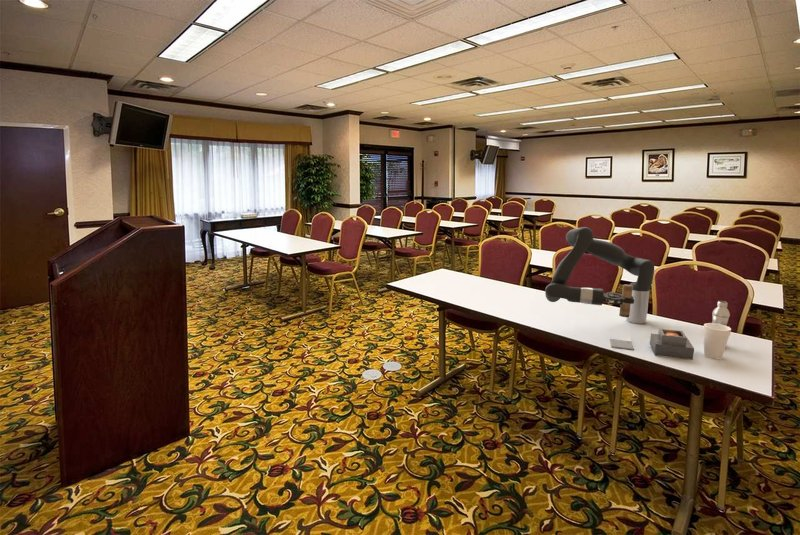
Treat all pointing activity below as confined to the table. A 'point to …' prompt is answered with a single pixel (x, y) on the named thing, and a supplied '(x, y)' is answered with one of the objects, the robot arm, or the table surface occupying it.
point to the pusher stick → (626, 306)
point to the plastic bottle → (721, 313)
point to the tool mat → (621, 344)
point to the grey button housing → (671, 344)
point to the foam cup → (715, 339)
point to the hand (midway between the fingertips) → (633, 299)
